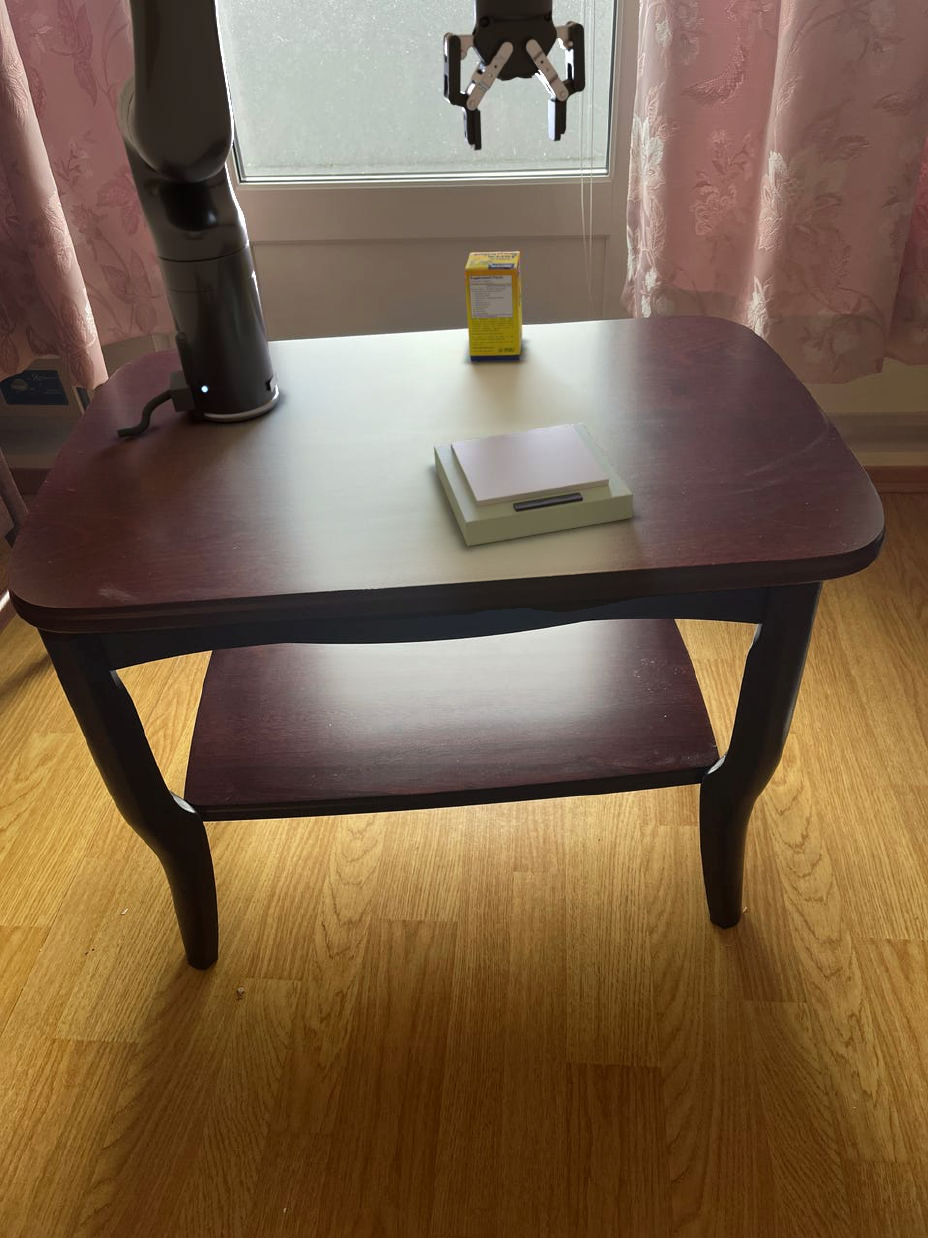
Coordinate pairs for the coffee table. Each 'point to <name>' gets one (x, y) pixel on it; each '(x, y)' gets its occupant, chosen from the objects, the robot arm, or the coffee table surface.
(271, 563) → the coffee table surface
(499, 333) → the supplement box
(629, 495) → the scale
